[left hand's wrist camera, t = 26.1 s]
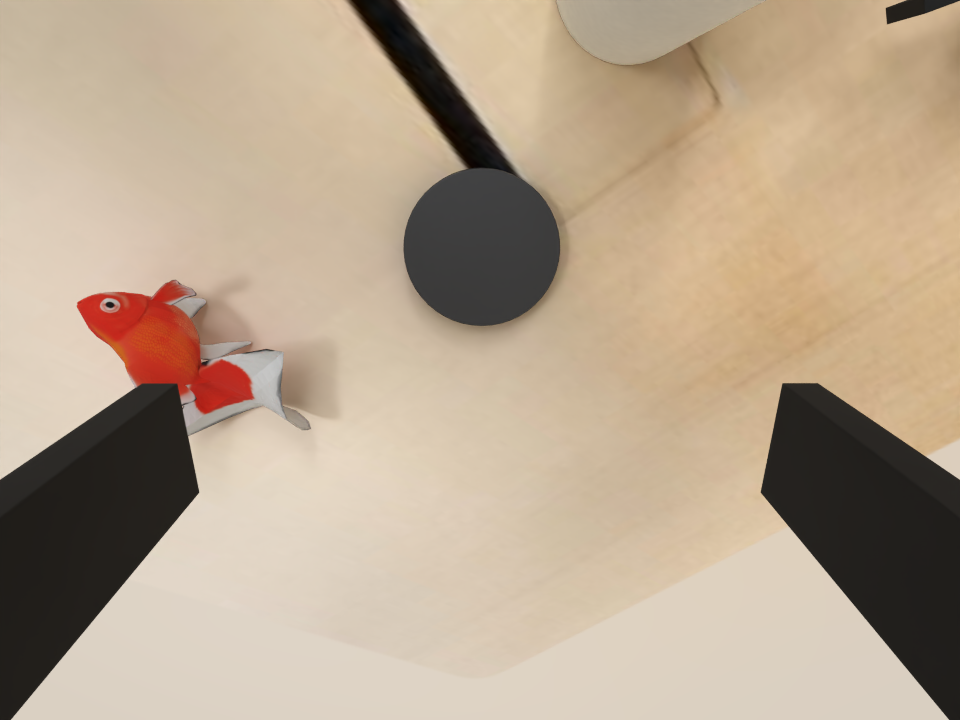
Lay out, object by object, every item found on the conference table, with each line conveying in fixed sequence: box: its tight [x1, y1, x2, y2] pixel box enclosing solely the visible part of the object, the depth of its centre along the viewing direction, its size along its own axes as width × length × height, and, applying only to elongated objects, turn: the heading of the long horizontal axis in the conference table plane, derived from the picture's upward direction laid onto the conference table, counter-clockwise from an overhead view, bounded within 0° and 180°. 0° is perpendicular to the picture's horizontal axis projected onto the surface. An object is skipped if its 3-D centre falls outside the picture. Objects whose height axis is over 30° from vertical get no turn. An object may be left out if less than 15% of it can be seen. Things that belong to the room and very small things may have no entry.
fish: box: [77, 280, 311, 436], centre depth 38 cm, size 11×16×10 cm
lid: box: [404, 168, 560, 326], centre depth 38 cm, size 10×10×2 cm
